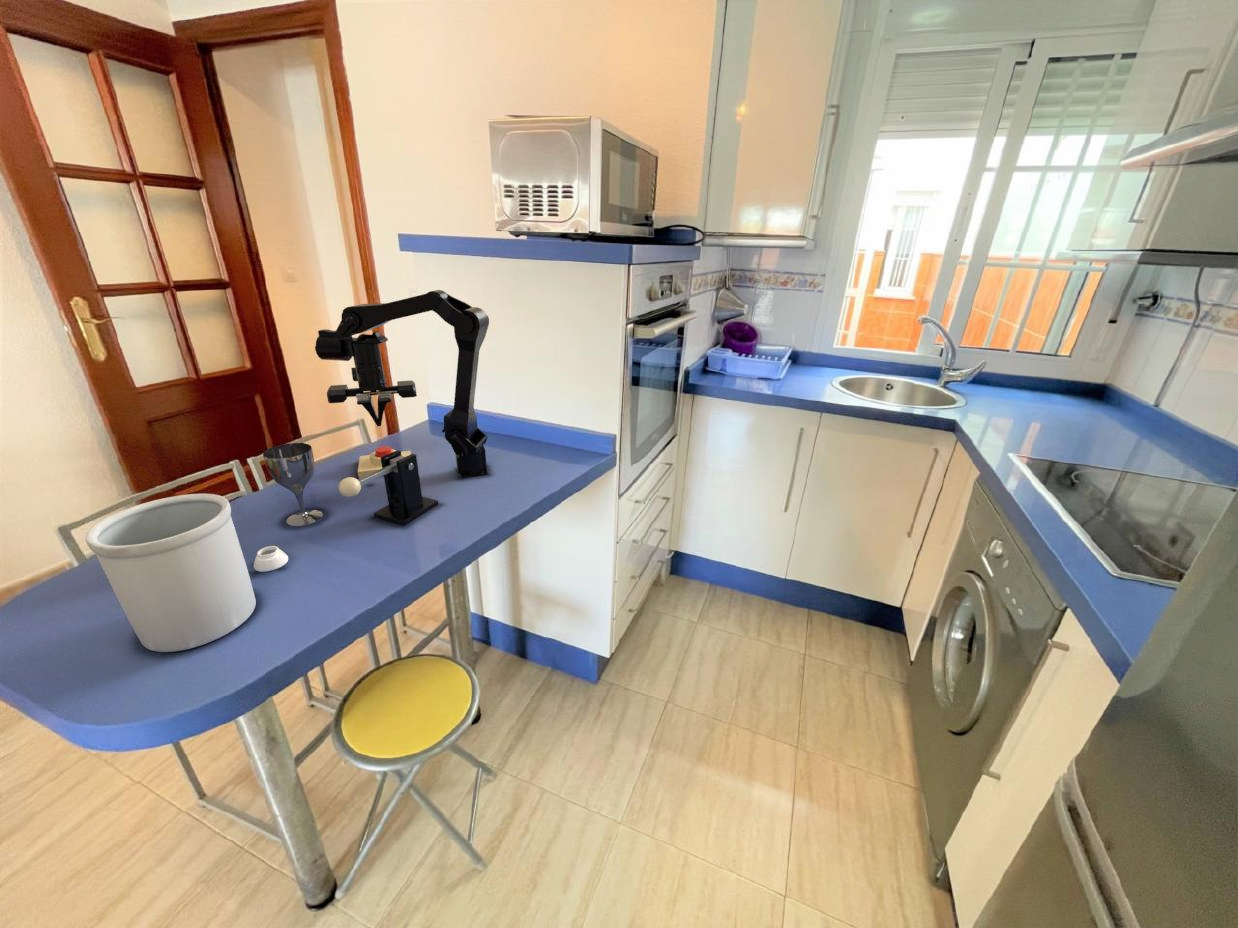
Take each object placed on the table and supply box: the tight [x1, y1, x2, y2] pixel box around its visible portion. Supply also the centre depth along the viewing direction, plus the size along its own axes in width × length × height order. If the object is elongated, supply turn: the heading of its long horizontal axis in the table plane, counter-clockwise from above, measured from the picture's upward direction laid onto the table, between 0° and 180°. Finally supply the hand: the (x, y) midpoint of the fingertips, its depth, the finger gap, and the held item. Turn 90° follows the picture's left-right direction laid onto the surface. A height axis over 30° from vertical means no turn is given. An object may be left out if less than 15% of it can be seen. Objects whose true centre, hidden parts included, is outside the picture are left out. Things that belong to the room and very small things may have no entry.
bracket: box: [373, 449, 439, 527], centre depth 103 cm, size 10×8×13 cm
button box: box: [357, 448, 412, 479], centre depth 125 cm, size 12×10×4 cm
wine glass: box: [262, 442, 323, 527], centre depth 99 cm, size 8×8×15 cm
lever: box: [338, 456, 404, 498], centre depth 96 cm, size 15×4×4 cm, turn 157°
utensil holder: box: [84, 493, 257, 653], centre depth 71 cm, size 15×15×18 cm
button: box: [374, 445, 392, 457], centre depth 124 cm, size 4×4×2 cm
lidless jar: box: [253, 545, 289, 573], centre depth 87 cm, size 5×3×5 cm
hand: (379, 425), depth 122 cm, fingers closed
